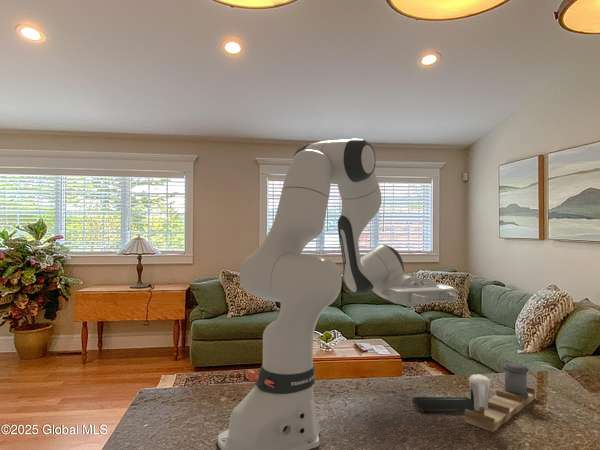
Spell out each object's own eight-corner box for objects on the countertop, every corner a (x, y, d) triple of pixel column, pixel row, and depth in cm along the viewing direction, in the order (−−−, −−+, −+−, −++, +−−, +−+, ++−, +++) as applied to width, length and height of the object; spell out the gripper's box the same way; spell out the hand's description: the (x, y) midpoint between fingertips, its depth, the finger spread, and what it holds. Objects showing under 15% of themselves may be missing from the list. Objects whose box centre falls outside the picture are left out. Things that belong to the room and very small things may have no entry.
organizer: (492, 432, 90) (493, 419, 90) (464, 421, 95) (464, 410, 95) (534, 398, 107) (534, 388, 107) (509, 391, 112) (509, 381, 112)
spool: (523, 400, 103) (523, 372, 103) (499, 393, 107) (499, 366, 107) (531, 394, 107) (531, 367, 107) (508, 387, 111) (508, 361, 111)
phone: (411, 397, 106) (469, 397, 106) (411, 401, 106) (469, 401, 106) (420, 410, 99) (482, 411, 98) (420, 415, 99) (482, 415, 98)
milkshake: (497, 420, 92) (497, 376, 92) (472, 419, 93) (472, 374, 93) (490, 411, 97) (490, 368, 97) (466, 409, 97) (466, 367, 97)
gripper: (378, 281, 117) (408, 289, 104) (436, 279, 125) (470, 286, 112) (377, 303, 117) (407, 313, 104) (435, 300, 125) (470, 309, 112)
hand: (440, 299), depth 108 cm, fingers open, 8 cm apart
